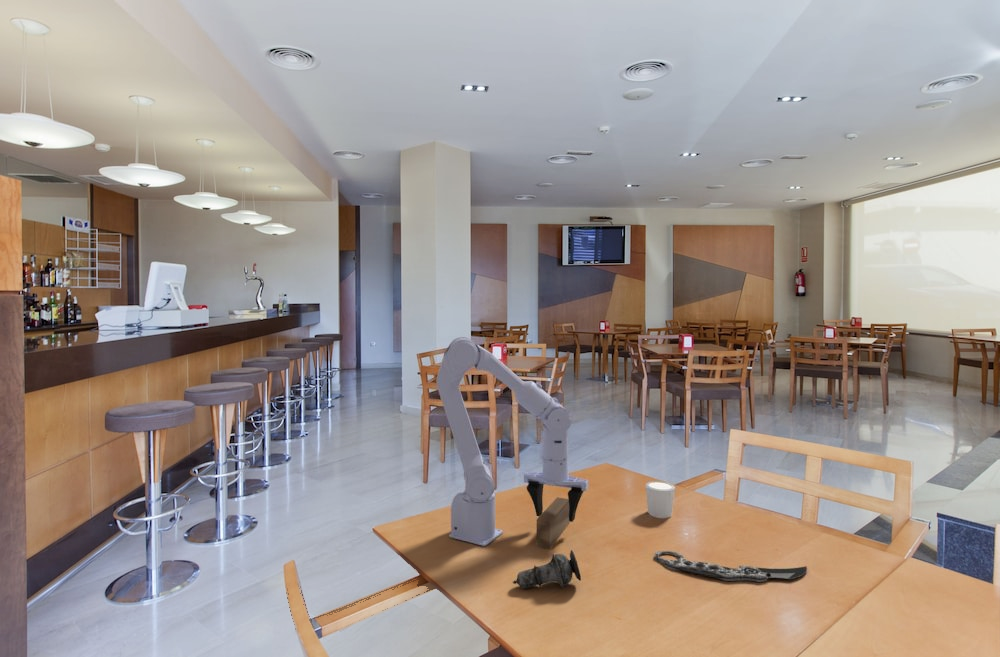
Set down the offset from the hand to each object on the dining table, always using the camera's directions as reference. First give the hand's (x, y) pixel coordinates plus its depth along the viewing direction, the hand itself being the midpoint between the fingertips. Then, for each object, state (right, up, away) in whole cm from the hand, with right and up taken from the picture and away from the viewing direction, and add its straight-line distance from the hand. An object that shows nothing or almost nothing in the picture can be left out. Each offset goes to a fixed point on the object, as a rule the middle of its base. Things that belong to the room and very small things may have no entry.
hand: (555, 517), depth 120 cm
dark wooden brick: (-1, -4, -1) cm, 4 cm away
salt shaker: (+2, -1, -22) cm, 22 cm away
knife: (+32, -5, -17) cm, 37 cm away
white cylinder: (+27, -3, +10) cm, 29 cm away
